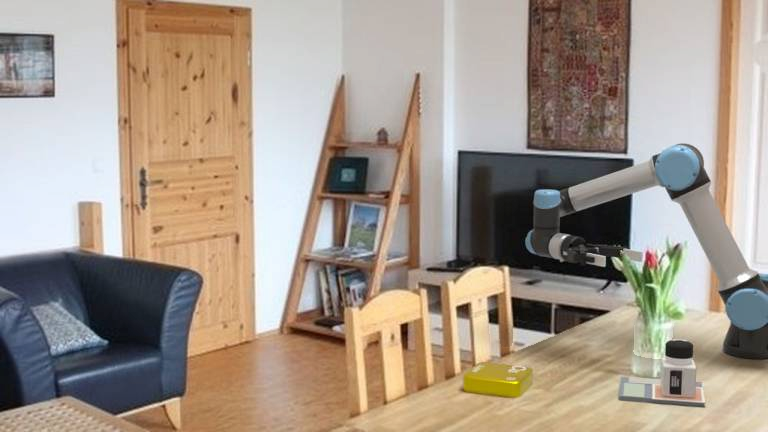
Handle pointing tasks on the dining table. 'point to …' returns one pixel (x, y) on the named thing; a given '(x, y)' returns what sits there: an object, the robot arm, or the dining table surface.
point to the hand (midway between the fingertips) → (623, 259)
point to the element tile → (498, 379)
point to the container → (678, 370)
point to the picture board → (655, 392)
